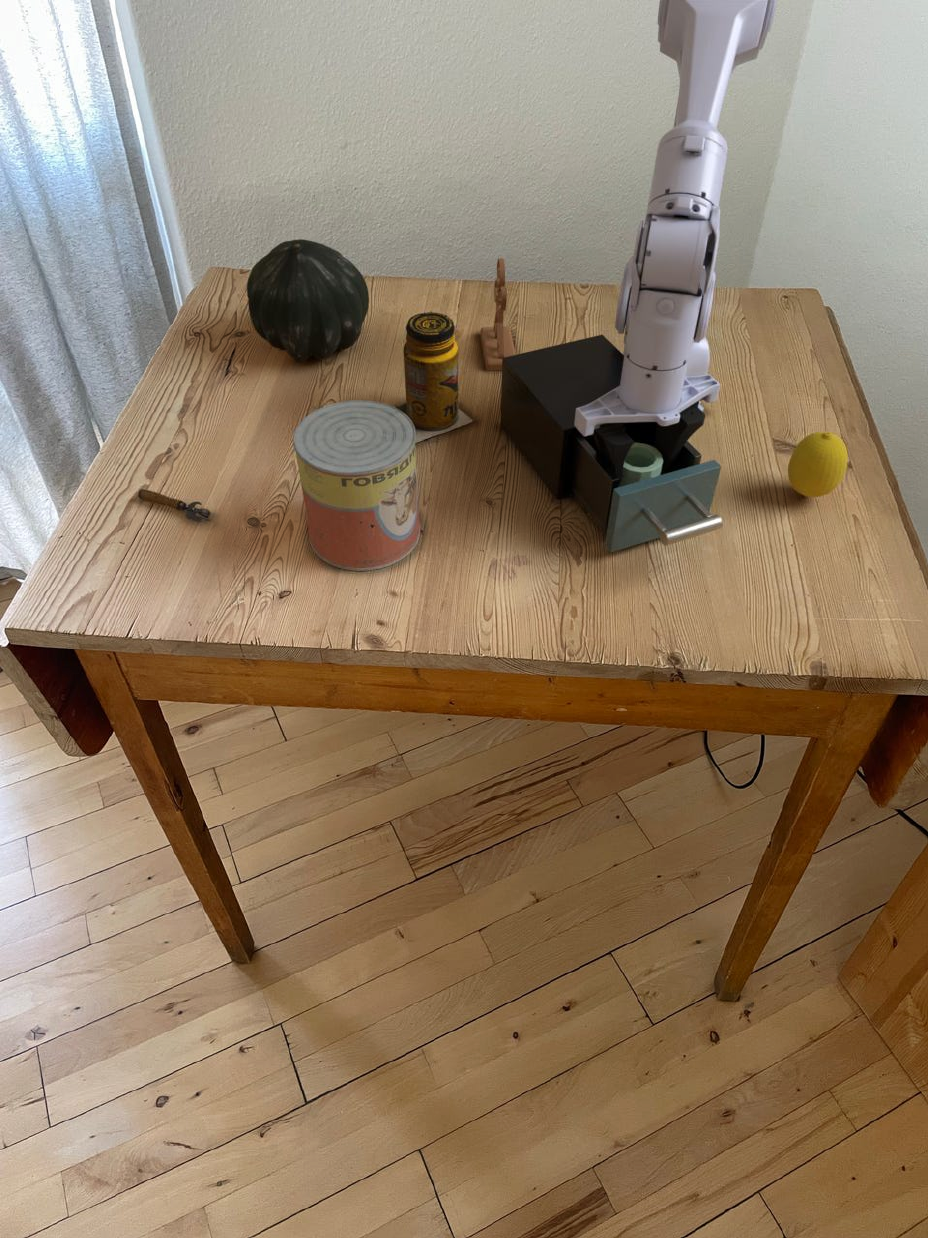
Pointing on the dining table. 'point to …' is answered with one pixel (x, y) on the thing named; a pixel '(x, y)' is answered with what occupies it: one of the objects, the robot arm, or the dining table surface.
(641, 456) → the jar
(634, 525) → the drawer
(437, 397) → the condiment
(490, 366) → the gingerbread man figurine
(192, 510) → the can opener
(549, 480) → the cabinet
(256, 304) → the squash
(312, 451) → the canned food
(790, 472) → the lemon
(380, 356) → the dining table surface
